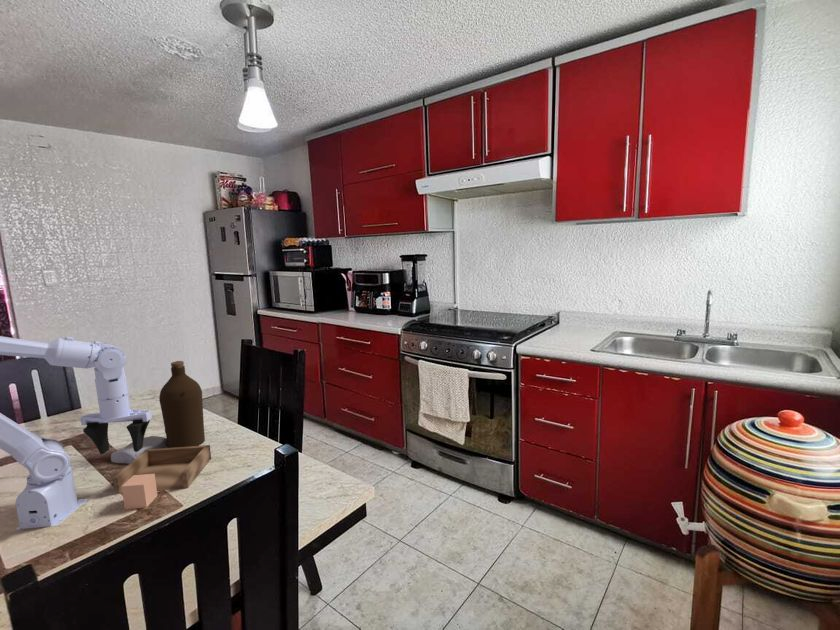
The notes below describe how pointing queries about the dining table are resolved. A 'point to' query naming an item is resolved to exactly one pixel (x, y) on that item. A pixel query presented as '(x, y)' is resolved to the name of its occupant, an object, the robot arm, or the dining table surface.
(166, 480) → the box
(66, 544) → the dining table surface
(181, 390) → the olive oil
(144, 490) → the block
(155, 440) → the stone block
